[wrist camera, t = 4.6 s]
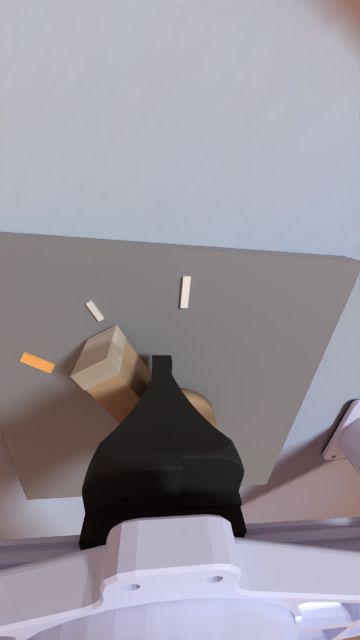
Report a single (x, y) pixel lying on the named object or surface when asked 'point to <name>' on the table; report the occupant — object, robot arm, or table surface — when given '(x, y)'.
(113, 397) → the dial
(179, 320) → the dial plate
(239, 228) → the table surface
